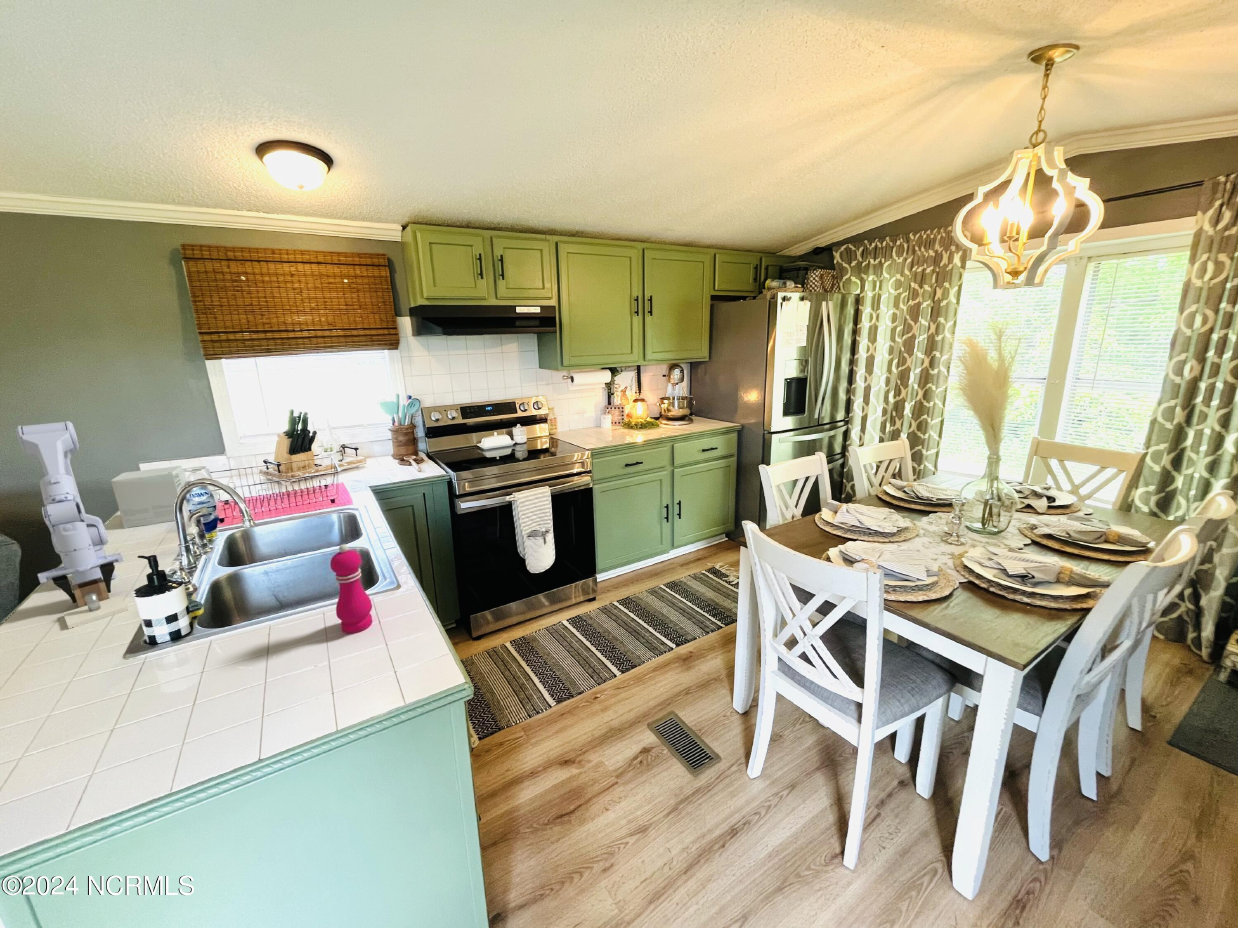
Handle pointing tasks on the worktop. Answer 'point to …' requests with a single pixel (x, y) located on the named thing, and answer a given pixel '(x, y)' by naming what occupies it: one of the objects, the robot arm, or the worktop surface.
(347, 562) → the pepper mill
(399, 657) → the worktop surface
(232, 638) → the worktop surface
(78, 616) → the base plate
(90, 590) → the walnut collar
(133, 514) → the supplement box
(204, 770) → the worktop surface
